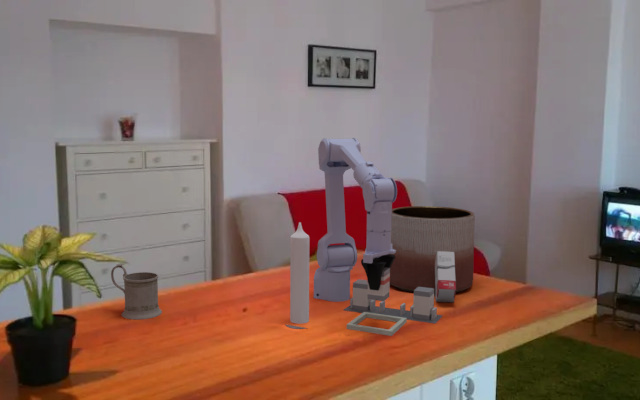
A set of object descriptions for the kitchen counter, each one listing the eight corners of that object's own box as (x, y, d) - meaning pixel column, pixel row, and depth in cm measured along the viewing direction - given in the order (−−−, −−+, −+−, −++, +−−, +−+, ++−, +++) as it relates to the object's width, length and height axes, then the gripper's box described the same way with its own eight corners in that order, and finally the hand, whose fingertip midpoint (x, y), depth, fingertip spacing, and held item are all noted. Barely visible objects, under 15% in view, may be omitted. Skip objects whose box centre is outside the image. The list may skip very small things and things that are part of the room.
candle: (318, 321, 161) (319, 220, 158) (308, 330, 154) (308, 225, 151) (291, 318, 163) (291, 219, 160) (280, 327, 157) (280, 223, 153)
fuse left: (352, 309, 168) (352, 282, 167) (358, 305, 172) (358, 279, 171) (367, 311, 166) (367, 284, 165) (372, 307, 170) (373, 281, 169)
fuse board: (342, 313, 168) (343, 300, 167) (353, 306, 174) (353, 293, 173) (435, 327, 157) (435, 313, 157) (442, 319, 164) (443, 305, 163)
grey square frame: (346, 332, 153) (346, 324, 153) (363, 319, 163) (364, 311, 163) (391, 340, 149) (391, 331, 148) (406, 326, 158) (406, 317, 158)
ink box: (456, 290, 169) (455, 250, 176) (437, 289, 170) (436, 250, 177) (453, 305, 176) (452, 266, 183) (435, 304, 177) (434, 265, 184)
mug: (169, 310, 169) (168, 265, 168) (144, 321, 160) (143, 273, 159) (125, 303, 175) (124, 259, 174) (99, 313, 166) (97, 267, 165)
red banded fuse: (367, 299, 154) (367, 270, 153) (373, 294, 157) (373, 266, 156) (383, 301, 152) (384, 272, 151) (389, 296, 156) (390, 267, 155)
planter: (412, 270, 214) (414, 203, 211) (486, 283, 199) (489, 211, 196) (370, 286, 194) (371, 212, 191) (449, 302, 179) (452, 221, 176)
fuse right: (412, 318, 161) (413, 290, 160) (417, 313, 165) (418, 286, 164) (428, 320, 159) (429, 292, 159) (433, 316, 163) (434, 288, 162)
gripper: (384, 236, 144) (383, 297, 146) (405, 226, 157) (403, 282, 159) (354, 234, 147) (354, 293, 149) (377, 224, 160) (376, 278, 162)
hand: (377, 287), depth 154 cm, fingers closed on red banded fuse, 4 cm apart
